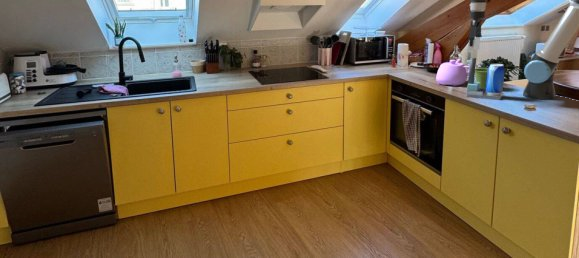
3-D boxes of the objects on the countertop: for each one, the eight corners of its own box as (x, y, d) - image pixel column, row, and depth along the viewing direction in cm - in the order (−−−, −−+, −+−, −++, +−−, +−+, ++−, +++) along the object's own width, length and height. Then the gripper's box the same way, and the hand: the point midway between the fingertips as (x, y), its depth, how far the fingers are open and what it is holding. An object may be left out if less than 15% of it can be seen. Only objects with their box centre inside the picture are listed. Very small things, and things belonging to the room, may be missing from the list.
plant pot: (470, 86, 263) (471, 68, 259) (490, 86, 261) (492, 67, 258) (475, 90, 252) (476, 71, 248) (496, 90, 250) (498, 71, 246)
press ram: (479, 91, 242) (482, 57, 237) (476, 94, 236) (479, 59, 230) (468, 90, 245) (471, 57, 240) (465, 93, 239) (468, 59, 233)
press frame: (503, 95, 237) (504, 89, 236) (500, 99, 229) (500, 93, 228) (471, 92, 247) (471, 86, 245) (466, 96, 238) (467, 90, 237)
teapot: (467, 88, 258) (469, 63, 253) (432, 85, 270) (434, 61, 266) (477, 81, 275) (479, 58, 270) (444, 78, 287) (446, 56, 283)
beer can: (495, 96, 230) (498, 66, 225) (482, 93, 237) (484, 64, 232) (505, 94, 234) (508, 64, 229) (491, 91, 241) (494, 63, 236)
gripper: (475, 9, 240) (471, 47, 246) (464, 12, 220) (460, 53, 227) (489, 9, 236) (485, 48, 242) (480, 12, 216) (475, 54, 223)
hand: (473, 50), depth 235 cm, fingers open, 13 cm apart
